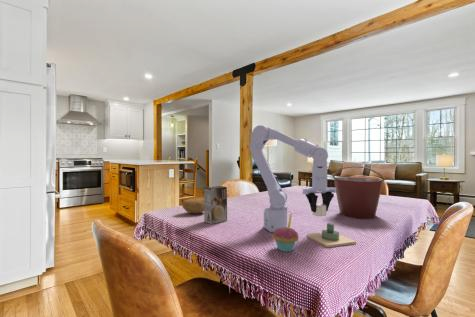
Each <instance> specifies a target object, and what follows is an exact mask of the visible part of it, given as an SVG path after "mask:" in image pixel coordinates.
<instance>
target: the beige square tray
mask: <svg viewBox="0 0 475 317" xmlns="http://www.w3.org/2000/svg"><path fill="white" fill-rule="evenodd" d="M306 237H307V238H309V239H311V240H312V241H314V242H316V243H318V244H320V245H321V246H323V247H324V248H326V249H327V248H334V247H335V248H336V247H341V246H342V247H343V246H351V245H356V244H357V242H356V240H353V239H351V238H349V237H346V236H344V235H342V234H340V232H338V231H337V230H335V224H334V223H331V222H330V223H326V229H322V231H321V232H315V233H307V234H306Z"/></svg>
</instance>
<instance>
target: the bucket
mask: <svg viewBox="0 0 475 317" xmlns="http://www.w3.org/2000/svg"><path fill="white" fill-rule="evenodd" d="M348 168H349V169H350V168H357V169H358V168H362V169H365V170H367V171H371V172H373V173H374V174H377V175H378V176H380V178H375V177H364V176H363V177H359V176H358V177H357V176H340V177H338V176H337V175H338V174H339V173H340V172H341V171H342V170H345V169H348ZM335 176H337V177H335ZM331 177H332V179H334V180H333V182H334V184H333V185H334V188H336V200H337V203H338V209H339V213H340V214H341V215H342V216H343V217H347V218H352V219H358V220H369V219H370V220H373V219H375V217H376V215H377V210H378V205H379V202H380V201H379V200H380V197H381V192H382V187H383V182H385V181H386V178H385V176H384V175H383V174H382V173H380V172H379V171H377V170H374V169H372V168H369V167H367V166H359V165H358V166H357V165H354V166H344V167H340V168H338V169H337V171H335V172H333V173H332V174H331Z"/></svg>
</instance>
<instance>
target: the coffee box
mask: <svg viewBox="0 0 475 317" xmlns="http://www.w3.org/2000/svg"><path fill="white" fill-rule="evenodd" d="M203 198H204V211H203V215H204V216H203V217H204V218H203V221H204V222H205V223H208V224H210V225H213V224H214V225H215V224H219V223H222V222H227V221H228V187H227V186H222V185H214V186H206V187H203Z"/></svg>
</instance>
